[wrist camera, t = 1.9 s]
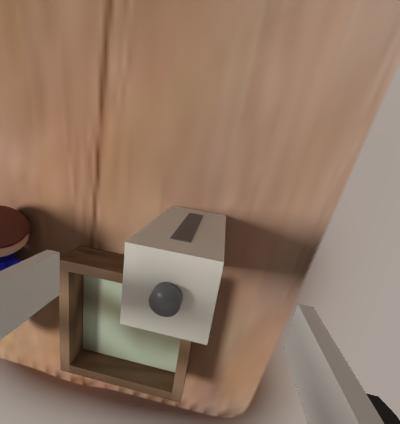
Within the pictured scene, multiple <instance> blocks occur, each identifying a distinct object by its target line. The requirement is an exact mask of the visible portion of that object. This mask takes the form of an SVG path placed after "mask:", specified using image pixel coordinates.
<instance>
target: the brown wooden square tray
mask: <svg viewBox="0 0 400 424" xmlns="http://www.w3.org/2000/svg"><path fill="white" fill-rule="evenodd" d="M123 268H124V255H121V254H116V253H112V252H107V251H102V250H97V249H93V248H88V247H83V246H81V247H79V248H77V249H75V250H74V251H72V252H70V253H68V254H67V255H65V256H63V257H61V258H60V295H59V319H60V362H61V370H62V371H66V372H70V373H73V374H77V375H81V376H84V377H88V378H92V379H95V380H99V381H103V382H106V383H110V384H114V385H117V386H121V387H125V388H128V389H132V390H136V391H139V392H143V393H146V394H150V395H154V396H157V397H161V398H165V399H168V400H172V401H176V402H179V403H181V398H182V393H183V388H184V383H185V378H186V373H187V367H188V361H189V356H190V350H191V345H192V341H188V340H184V339H180V338H176V337H172V336H168V335H164V334H160V333H155V332H151V331H147V330H143V329H139V328H135V327H131V326H127V325H123V324H120V313H121V298H122V283H123Z"/></svg>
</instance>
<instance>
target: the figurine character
mask: <svg viewBox="0 0 400 424" xmlns="http://www.w3.org/2000/svg"><path fill="white" fill-rule="evenodd" d="M30 232H31V228H30V224H29V222H28V220H27V218H26V217H25V216H24V215H23V214H22V213H20V212H19V211H17V210H15V209H13V208H10V207H6V206H0V271H2V270H4V269H6V268H8V267H10V266H12V265H15V264H17V263H19V262H21V261H20V260H19V259H17V258H14V256H15V252H16V251H18V250H19V249H21V248H22V247H23V246H24V245H25V244H26V242H27V241H28V239H29V237H30Z"/></svg>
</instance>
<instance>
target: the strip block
mask: <svg viewBox="0 0 400 424" xmlns="http://www.w3.org/2000/svg"><path fill="white" fill-rule="evenodd" d="M225 229H226V215H221V214H215V213H210V212H204V211H199V210H194V209H188V208H183V207H177V206H171V207H170V208H169V209H167V210H166V211H165V212H163V213H162V214H161V215H160V216H158V217H157V218H156V219H154V220H153V221H152V222H151V223H149V224H148V225H147V226H145V227H144V228H143V229H141V230H140V231H139V232H138V233H136V234H135V235H134V236H132V237H131V238H130V239H129V240H127V241H126V242H125V253H124V268H123V283H122V298H121V313H120V324H123V325H127V326H131V327H135V328H139V329H143V330H147V331H151V332H155V333H160V334H164V335H168V336H172V337H176V338H180V339H184V340H188V341H192V342H196V343H200V344H205V345H207V344H208V339H209V334H210V329H211V324H212V319H213V314H214V309H215V305H216V300H217V295H218V290H219V285H220V280H221V275H222V270H223V265H224V253H225Z"/></svg>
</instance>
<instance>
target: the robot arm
mask: <svg viewBox="0 0 400 424" xmlns="http://www.w3.org/2000/svg"><path fill="white" fill-rule="evenodd" d="M59 295H60V252H57V251H52V250H45V251H43V252H41V253H39V254H36V255H34V256H32V257H30V258H28V259H26V260H23V261H21V262H19V263H17V264H15V265H12V266H10V267H8V268H6V269H4V270H2V271H0V340H1V339H2V338H3V337H5V336H6V335H7V334H9V333H10V332H11V331H13V330H14V329H15V328H17V327H18V326H19V325H21V324H22V323H23V322H24V321H26V320H27V319H28V318H30V317H31V316H32V315H34V314H35V313H36V312H38V311H39V310H40V309H42V308H43V307H44V306H45V305H47V304H48V303H49V302H51V301H52V300H53V299H55V298H56V297H57V296H59ZM284 349H285V352H286V355H287V359H288V362H289V365H290V368H291V372H292V375H293V378H294V381H295V385H296V388H297V391H298V394H299V397H300V401H301V404H302V407H303V410H304V413H305V417H306V420H307V423H308V424H400V420H399V419H398V418H397V416H396V415H395V414H394V413H393V412H392V411H391V409H390V408H389V407H388V406H387V405H386V404H385V403H384V402H383V401H382V400H381V399H380V398H379V397H378V396H374V395H370V394H366V393H365V391H364V389H363V388H362V386H361V385H360V383H359V381H358V380H357V378H356V376H355V375H354V373H353V371H352V370H351V368H350V367H349V365H348V363H347V362H346V360H345V358H344V357H343V355H342V353H341V352H340V350H339V348H338V347H337V345H336V344H335V342H334V341H333V339H332V337H331V335H330V334H329V332H328V330H327V329H326V327H325V325H324V324H323V322H322V321H321V319H320V318H319V316H318V314H317V312H316V311H315V309H314V308H313V307H310V306H305V305H300V304H298V305H297V308H296V311H295V314H294V318H293V321H292V324H291V327H290V331H289V334H288V337H287V340H286V343H285V347H284Z"/></svg>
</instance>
